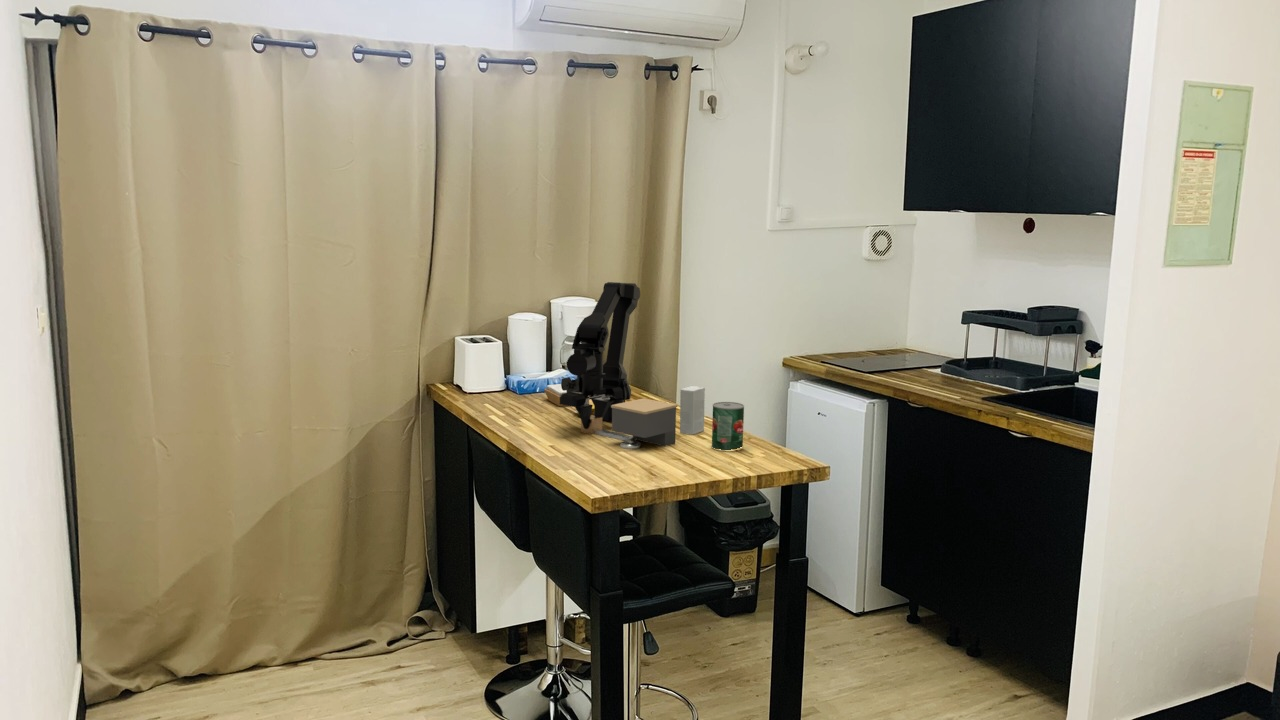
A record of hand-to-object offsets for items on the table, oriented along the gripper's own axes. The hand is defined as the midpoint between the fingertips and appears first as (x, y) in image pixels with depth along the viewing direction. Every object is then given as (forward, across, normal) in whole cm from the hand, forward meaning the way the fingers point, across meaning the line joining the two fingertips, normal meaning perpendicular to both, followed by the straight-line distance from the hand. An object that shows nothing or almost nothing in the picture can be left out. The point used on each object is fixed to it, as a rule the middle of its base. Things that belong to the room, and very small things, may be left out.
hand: (591, 427), depth 262 cm
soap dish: (+2, -22, -32) cm, 39 cm away
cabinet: (+1, 0, +18) cm, 19 cm away
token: (+2, +4, +18) cm, 19 cm away
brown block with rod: (+1, 0, +6) cm, 7 cm away
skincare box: (+1, -19, +19) cm, 27 cm away
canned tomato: (+1, -12, +36) cm, 38 cm away
